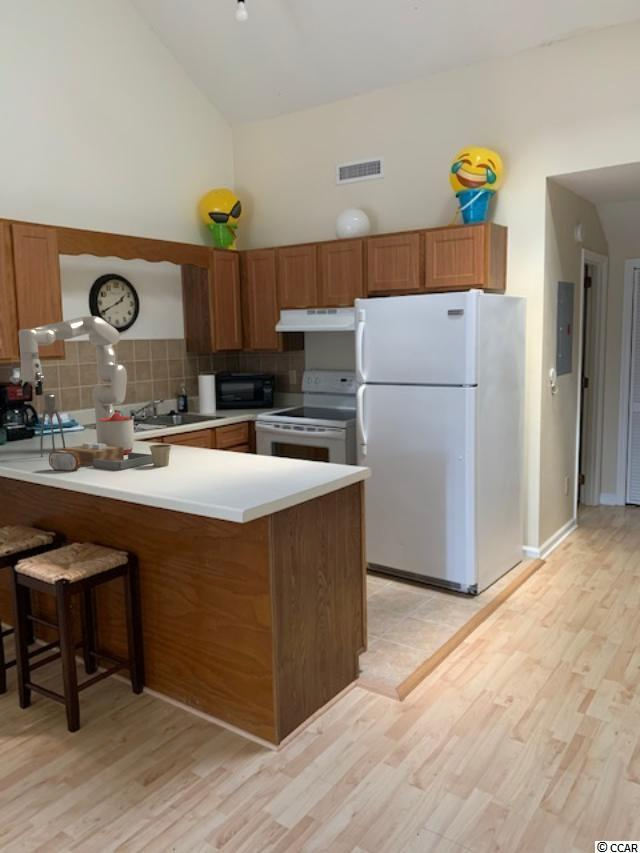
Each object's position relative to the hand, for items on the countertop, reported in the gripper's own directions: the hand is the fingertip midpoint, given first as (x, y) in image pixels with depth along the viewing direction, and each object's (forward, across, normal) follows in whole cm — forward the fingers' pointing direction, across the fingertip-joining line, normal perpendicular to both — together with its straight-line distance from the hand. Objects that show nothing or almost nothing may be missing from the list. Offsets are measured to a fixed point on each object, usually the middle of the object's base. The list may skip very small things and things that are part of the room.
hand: (32, 394), depth 302 cm
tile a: (+24, -22, -12) cm, 35 cm away
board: (+30, -24, -12) cm, 41 cm away
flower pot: (+31, -61, -19) cm, 71 cm away
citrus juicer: (+31, -19, -32) cm, 48 cm away
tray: (+30, -45, -12) cm, 56 cm away
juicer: (+31, +4, -9) cm, 32 cm away
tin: (+31, -32, +8) cm, 45 cm away
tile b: (+24, -29, -12) cm, 40 cm away
